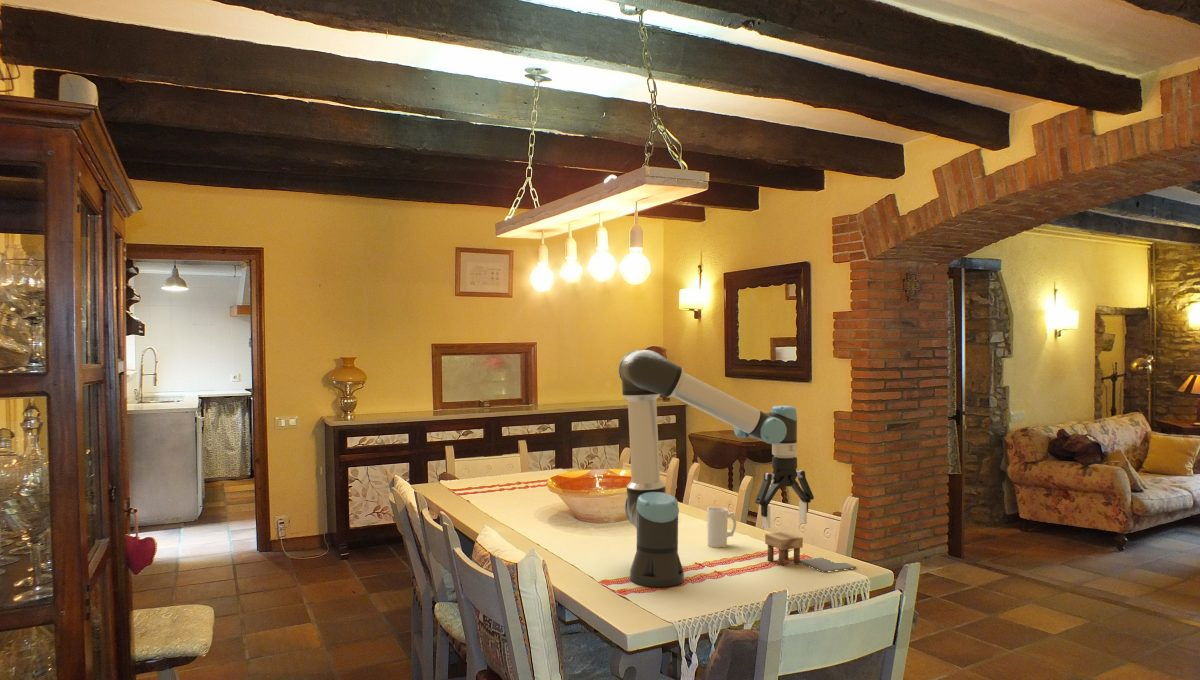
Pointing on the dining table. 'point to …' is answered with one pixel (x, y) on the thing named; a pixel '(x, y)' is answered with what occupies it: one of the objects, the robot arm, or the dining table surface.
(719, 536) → the mug
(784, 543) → the stool
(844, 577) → the dining table surface
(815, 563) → the mat
